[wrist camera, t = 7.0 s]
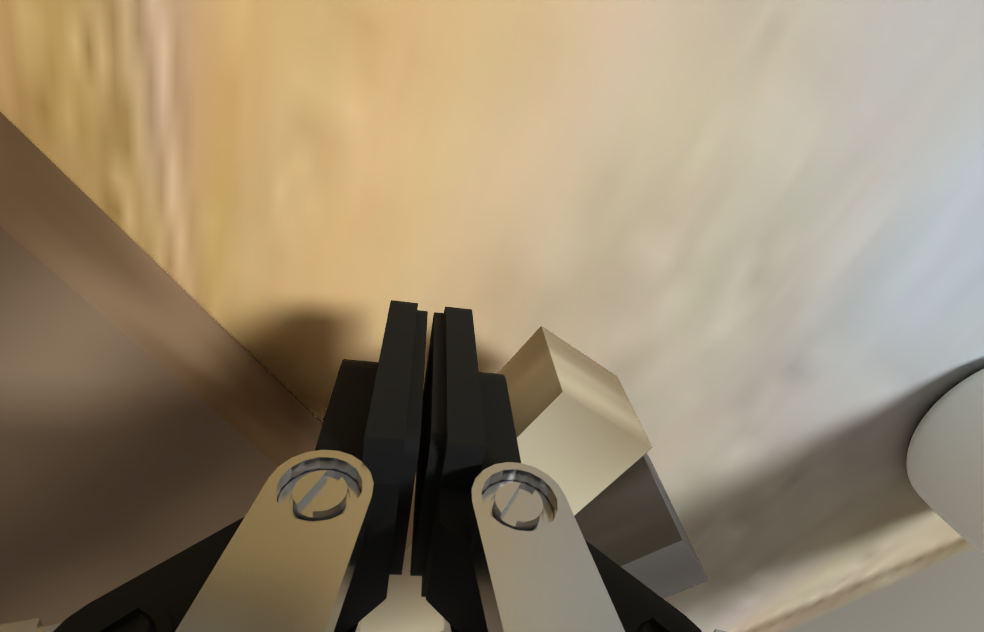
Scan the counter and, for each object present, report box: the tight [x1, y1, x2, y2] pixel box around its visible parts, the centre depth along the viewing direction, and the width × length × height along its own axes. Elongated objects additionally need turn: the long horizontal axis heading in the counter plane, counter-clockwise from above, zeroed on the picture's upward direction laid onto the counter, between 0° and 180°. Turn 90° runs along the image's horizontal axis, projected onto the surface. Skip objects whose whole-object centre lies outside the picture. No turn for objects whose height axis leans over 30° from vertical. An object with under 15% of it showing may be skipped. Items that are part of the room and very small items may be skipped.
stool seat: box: [0, 112, 708, 626], centre depth 12 cm, size 19×26×8 cm
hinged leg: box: [360, 326, 652, 632], centre depth 13 cm, size 12×2×3 cm, turn 142°
